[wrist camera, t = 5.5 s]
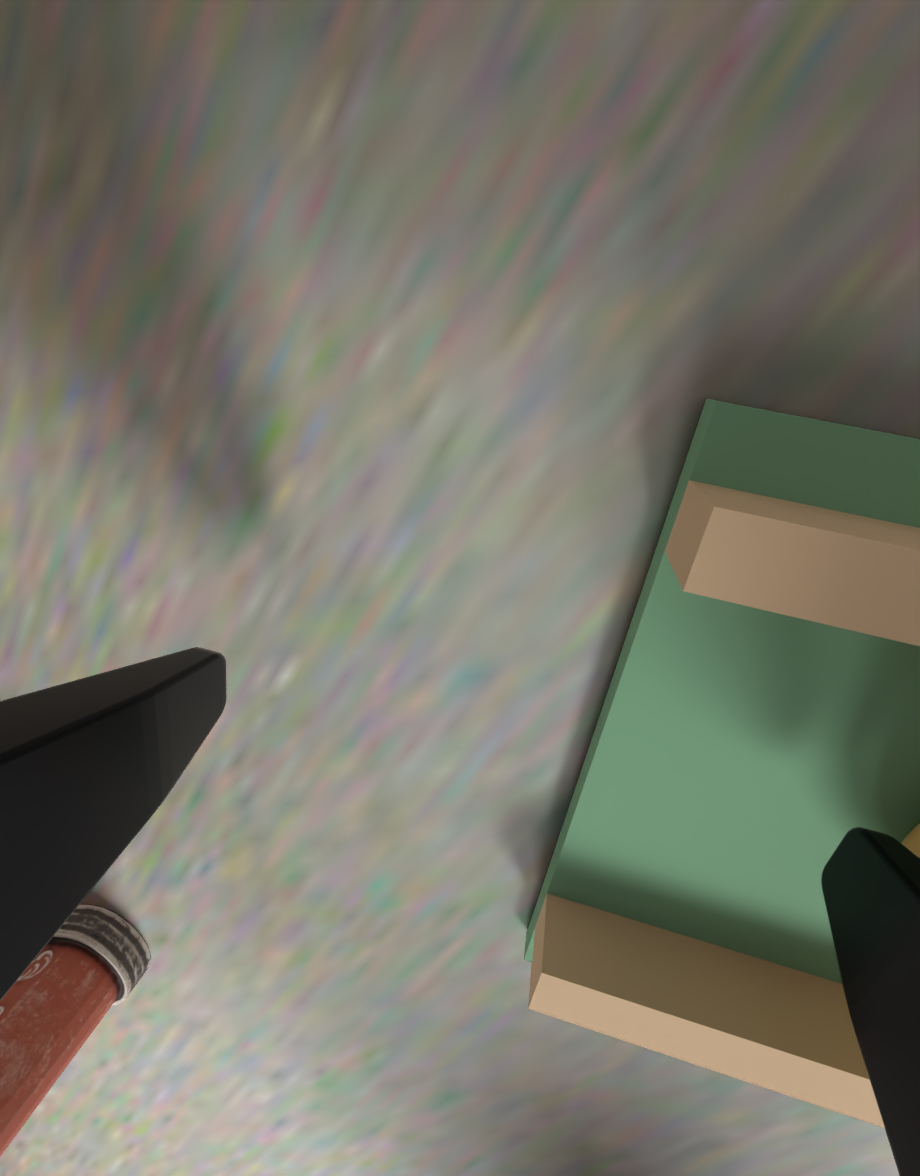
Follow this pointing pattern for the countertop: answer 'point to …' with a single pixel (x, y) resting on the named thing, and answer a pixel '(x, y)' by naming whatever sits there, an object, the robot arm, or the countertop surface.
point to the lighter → (62, 1006)
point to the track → (745, 759)
